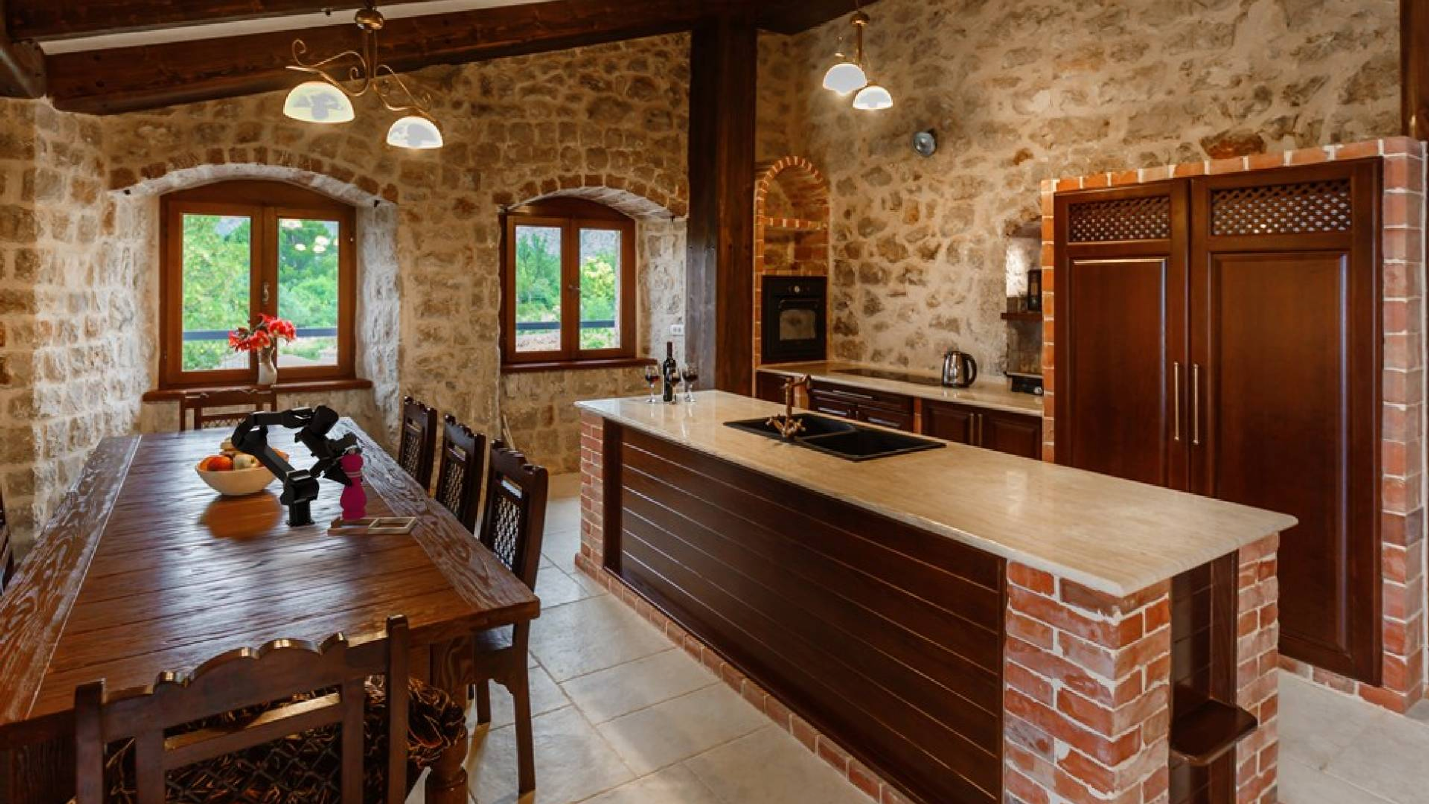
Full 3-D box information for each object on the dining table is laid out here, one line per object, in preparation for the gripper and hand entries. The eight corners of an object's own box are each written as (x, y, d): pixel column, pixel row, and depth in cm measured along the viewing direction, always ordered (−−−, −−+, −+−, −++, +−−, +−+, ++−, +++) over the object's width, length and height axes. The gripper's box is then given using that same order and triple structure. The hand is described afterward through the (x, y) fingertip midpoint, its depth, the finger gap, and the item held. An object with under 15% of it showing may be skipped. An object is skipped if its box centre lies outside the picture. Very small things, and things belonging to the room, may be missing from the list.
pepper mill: (357, 521, 229) (355, 451, 226) (334, 519, 230) (331, 449, 227) (373, 514, 236) (370, 446, 233) (350, 512, 237) (348, 444, 234)
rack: (327, 534, 227) (326, 524, 227) (341, 523, 238) (340, 513, 238) (406, 533, 230) (406, 522, 229) (416, 522, 241) (416, 512, 240)
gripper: (317, 430, 221) (357, 472, 221) (355, 419, 239) (392, 458, 239) (291, 457, 223) (331, 499, 223) (330, 444, 241) (367, 483, 241)
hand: (357, 483), depth 232 cm, fingers closed on pepper mill, 5 cm apart
